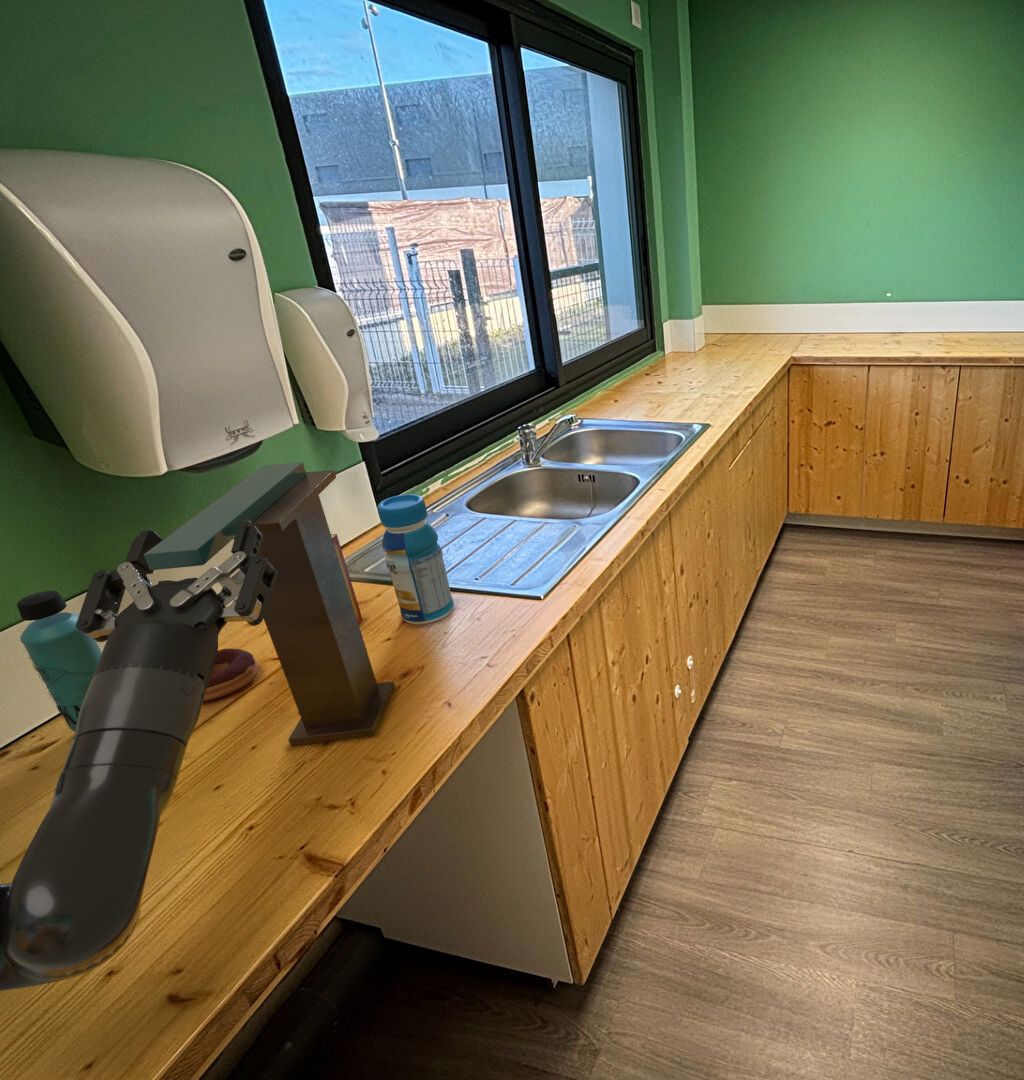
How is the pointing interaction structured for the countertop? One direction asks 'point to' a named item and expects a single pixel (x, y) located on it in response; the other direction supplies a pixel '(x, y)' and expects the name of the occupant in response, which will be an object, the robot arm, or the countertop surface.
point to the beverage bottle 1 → (59, 651)
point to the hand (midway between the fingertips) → (202, 530)
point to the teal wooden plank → (224, 518)
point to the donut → (230, 672)
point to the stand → (317, 621)
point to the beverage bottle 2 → (414, 560)
